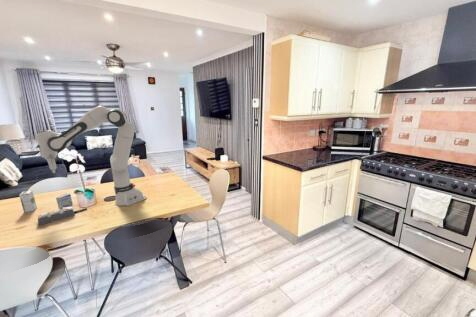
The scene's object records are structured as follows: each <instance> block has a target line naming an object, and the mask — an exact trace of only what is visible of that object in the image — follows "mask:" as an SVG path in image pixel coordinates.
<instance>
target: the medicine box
mask: <svg viewBox="0 0 476 317" xmlns="http://www.w3.org/2000/svg"><path fill="white" fill-rule="evenodd" d="M71 195H72V194H71V193H65V194H63V195H59V196H57V197H55V199H56V204H57V207H58V208H57V209H63V207H71V205H74V204H73V200H72V196H71Z"/></svg>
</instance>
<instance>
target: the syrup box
mask: <svg viewBox="0 0 476 317" xmlns="http://www.w3.org/2000/svg"><path fill="white" fill-rule="evenodd" d="M18 196H19V199H20V202H21V203H20V204H21V206H22V210H23V213H30V212H34V211H35V210H36V209H37V208H38V207H37V203H36V198H35V195H34V192H33V190H25V191H24V190H23V191H22V192H21V193H20V194H19V195H18Z"/></svg>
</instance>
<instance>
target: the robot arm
mask: <svg viewBox="0 0 476 317" xmlns="http://www.w3.org/2000/svg"><path fill="white" fill-rule="evenodd" d="M107 121H108V122H109V123H110V124H111V125H113V126H115V127H117V129H118V130H117V133H116V136H115V141H114V145H113V151H112V154H111V155H110V158H109V161H110V167H111V174H112V178H113V179H112V180H113V183H114V184H113V185H114V186H113V189H114V194H115V203H114V205H116V206H119V207H121V206H126V207H128V206H132V205H134V204H136V203H137V204H138V203H139V202H142V201H144V200H146V199H147V195H145V194H144V193H143V192H142V190H141V189H140V188H137V187H136V184H134V183H132V182H131V179H130V174H129V169H128V168H129V167H128V164H129V160H130V159H129V158H130V154H131V149H132V148H131V147H132V145H133V144H132V143H133V140H134V136H135V125H134V124H133V123H132V122H130V121H127V114H126V113H125V111H122V110H121V109H117V108H116V109H110V110H109V109H108V108H107V107H106V106H103V105H98V106H95V107H94V108H92V109H90V110H89V111H87V112H86V113H84V114H83V115H82V116H81V117H80V118H79V120H77V121H76V122H75V123H74V124H73V126H71V127H69V128H68V129H67V130H66V131H64V132H63V133H62V132H61V133H60V132H55V131H53V130H51V129H45V130H41V131H39V132H37V135H36V139H37V145H38V146H39V152H40V155H41V158H43V159H44V160H46V162H47V164H48V168H49V170H50V171H51V173H52V174H56V172H57V171H56V169H58V167H57V163H56V159H57V156H58V155H59V152H62V151H64V150H65V149H66V148H68V147H69V146H70V145H72V142H73V140H74V139H75V138H77V137H78V136H79V135H82V134H84V133H86V132H88V131H92V130H93V129H96V128H97V127H99V126H100V125H102V124H103V123H105V122H107Z"/></svg>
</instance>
